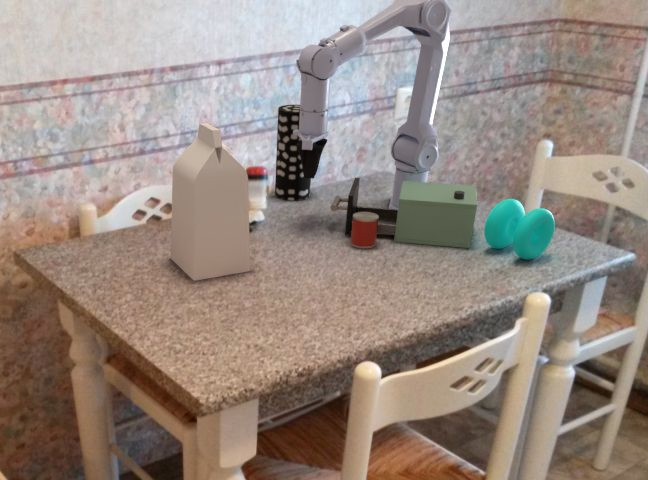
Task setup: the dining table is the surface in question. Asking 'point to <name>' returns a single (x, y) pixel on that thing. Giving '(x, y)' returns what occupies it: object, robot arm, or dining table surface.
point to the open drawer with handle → (385, 215)
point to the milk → (210, 209)
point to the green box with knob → (436, 214)
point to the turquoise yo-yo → (519, 228)
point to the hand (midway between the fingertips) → (310, 176)
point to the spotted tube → (289, 157)
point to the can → (364, 230)
